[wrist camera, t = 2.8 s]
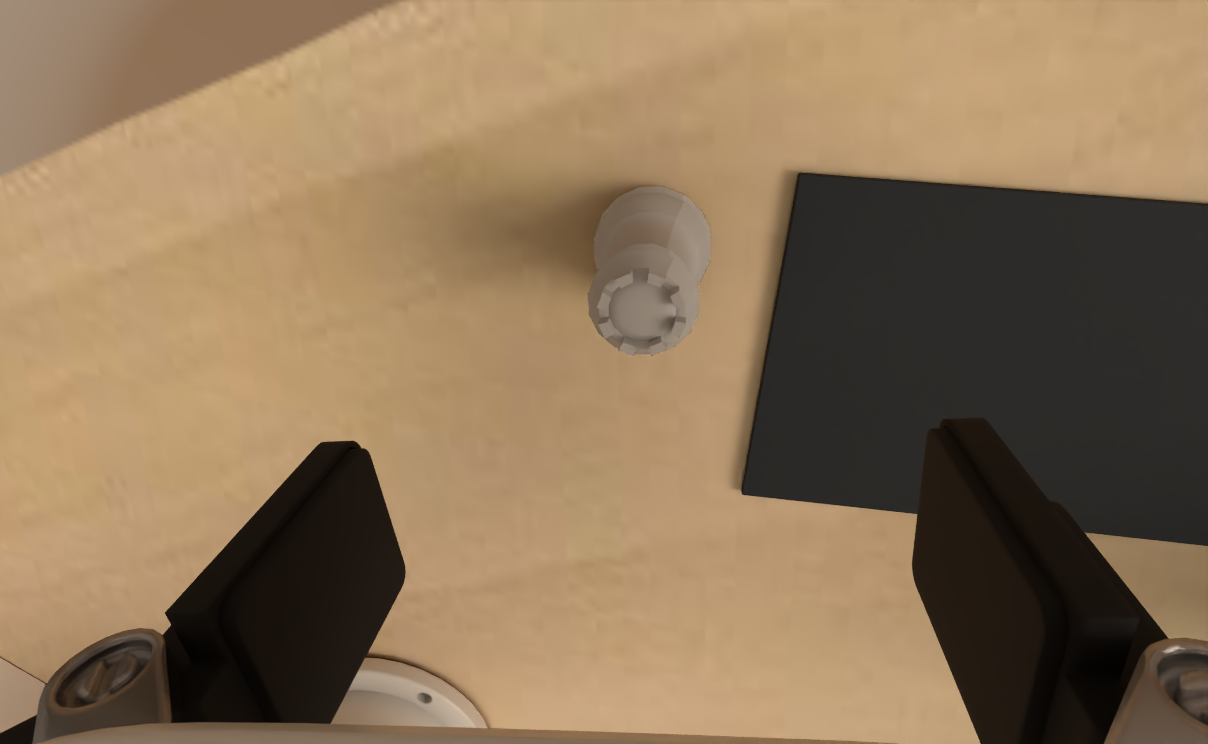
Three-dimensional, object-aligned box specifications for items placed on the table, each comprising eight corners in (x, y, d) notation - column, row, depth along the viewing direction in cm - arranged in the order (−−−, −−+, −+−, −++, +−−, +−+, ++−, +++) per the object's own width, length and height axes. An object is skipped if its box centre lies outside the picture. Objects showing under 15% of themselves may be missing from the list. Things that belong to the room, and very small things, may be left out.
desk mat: (741, 489, 30) (741, 495, 30) (798, 172, 24) (799, 174, 24) (1206, 540, 29) (1213, 546, 29) (1392, 217, 23) (1404, 220, 22)
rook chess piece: (633, 159, 25) (613, 204, 17) (734, 223, 25) (755, 292, 18) (574, 259, 26) (534, 337, 19) (669, 317, 27) (665, 413, 20)
